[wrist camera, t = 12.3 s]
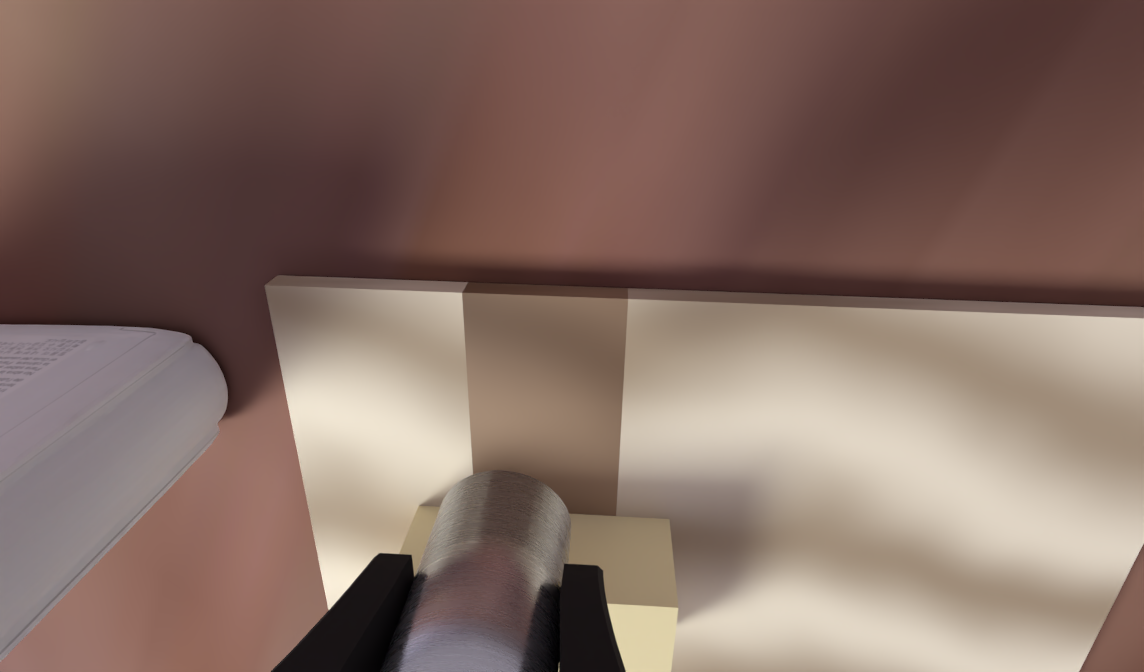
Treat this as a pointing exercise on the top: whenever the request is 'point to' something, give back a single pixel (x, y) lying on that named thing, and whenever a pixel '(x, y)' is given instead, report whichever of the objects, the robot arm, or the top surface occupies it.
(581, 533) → the cream rectangular block
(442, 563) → the silver metal cylinder
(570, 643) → the robot arm
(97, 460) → the white rounded block
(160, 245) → the top surface
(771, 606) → the subfloor board
